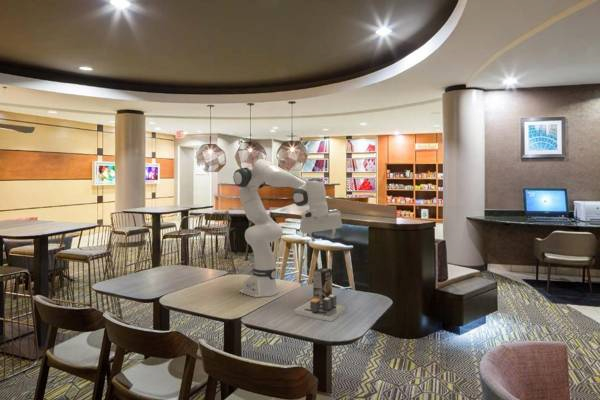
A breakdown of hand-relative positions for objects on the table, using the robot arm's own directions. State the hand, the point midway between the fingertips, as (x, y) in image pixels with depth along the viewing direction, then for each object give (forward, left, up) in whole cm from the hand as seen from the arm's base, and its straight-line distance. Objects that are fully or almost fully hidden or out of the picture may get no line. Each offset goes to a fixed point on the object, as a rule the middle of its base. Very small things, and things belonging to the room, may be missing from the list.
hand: (323, 239), depth 185 cm
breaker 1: (+5, -5, -32) cm, 32 cm away
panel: (+1, -5, -34) cm, 34 cm away
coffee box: (-7, +12, -34) cm, 37 cm away
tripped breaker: (+1, -10, -32) cm, 33 cm away
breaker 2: (+5, 0, -32) cm, 32 cm away
